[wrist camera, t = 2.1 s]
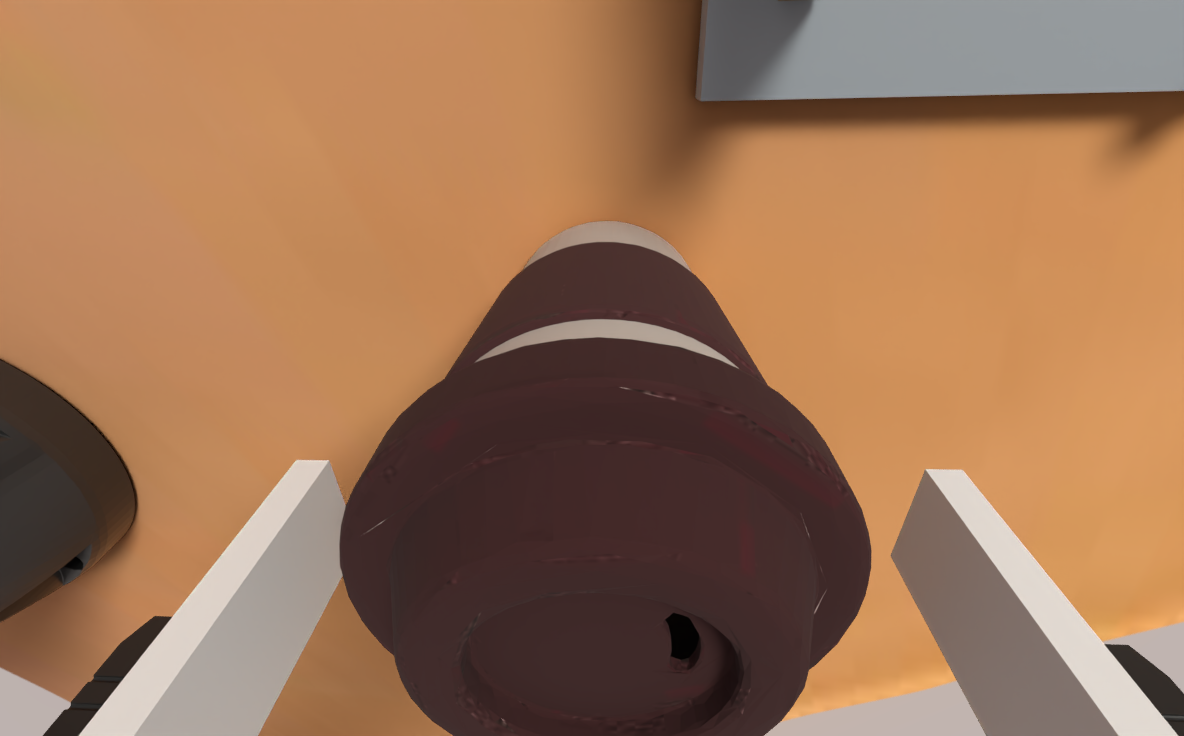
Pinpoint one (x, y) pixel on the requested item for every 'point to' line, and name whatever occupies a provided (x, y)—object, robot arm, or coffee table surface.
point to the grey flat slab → (936, 48)
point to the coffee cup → (604, 515)
